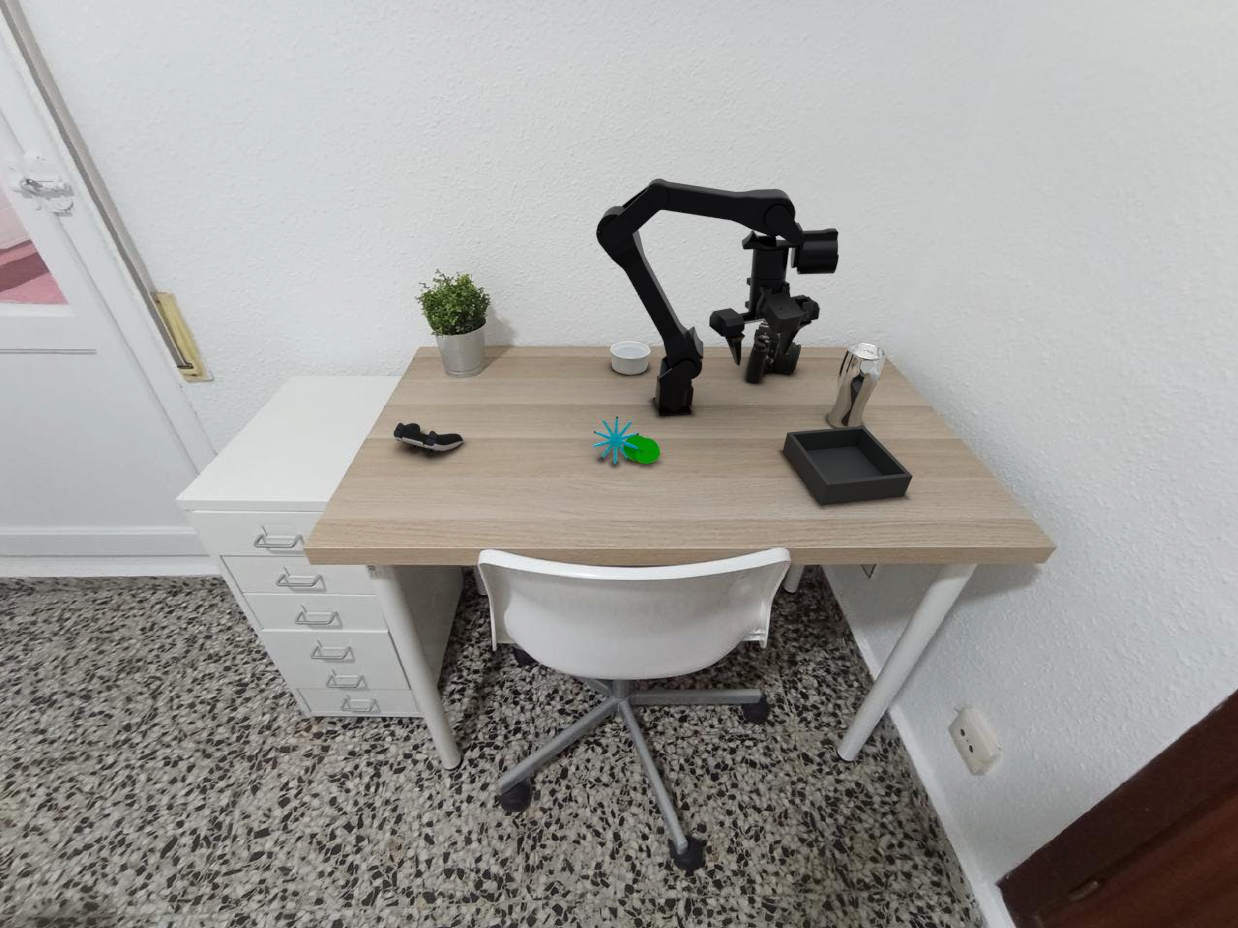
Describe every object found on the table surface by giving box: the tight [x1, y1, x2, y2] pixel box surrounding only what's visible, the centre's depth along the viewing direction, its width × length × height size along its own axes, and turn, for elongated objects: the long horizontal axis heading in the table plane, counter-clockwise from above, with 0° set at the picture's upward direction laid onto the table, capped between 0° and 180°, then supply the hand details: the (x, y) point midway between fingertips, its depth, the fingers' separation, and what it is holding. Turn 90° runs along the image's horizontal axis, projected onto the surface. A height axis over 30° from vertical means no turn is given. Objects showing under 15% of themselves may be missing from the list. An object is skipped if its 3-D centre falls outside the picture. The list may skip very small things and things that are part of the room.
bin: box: [782, 425, 914, 506], centre depth 92 cm, size 15×15×4 cm
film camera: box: [745, 320, 802, 384], centre depth 120 cm, size 18×12×10 cm
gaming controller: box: [392, 422, 464, 454], centre depth 95 cm, size 11×4×7 cm
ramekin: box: [609, 340, 651, 376], centre depth 121 cm, size 9×9×4 cm
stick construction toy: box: [592, 415, 661, 465], centre depth 96 cm, size 12×7×8 cm
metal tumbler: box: [827, 342, 887, 428], centre depth 102 cm, size 7×7×15 cm
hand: (760, 360), depth 101 cm, fingers open, 9 cm apart
